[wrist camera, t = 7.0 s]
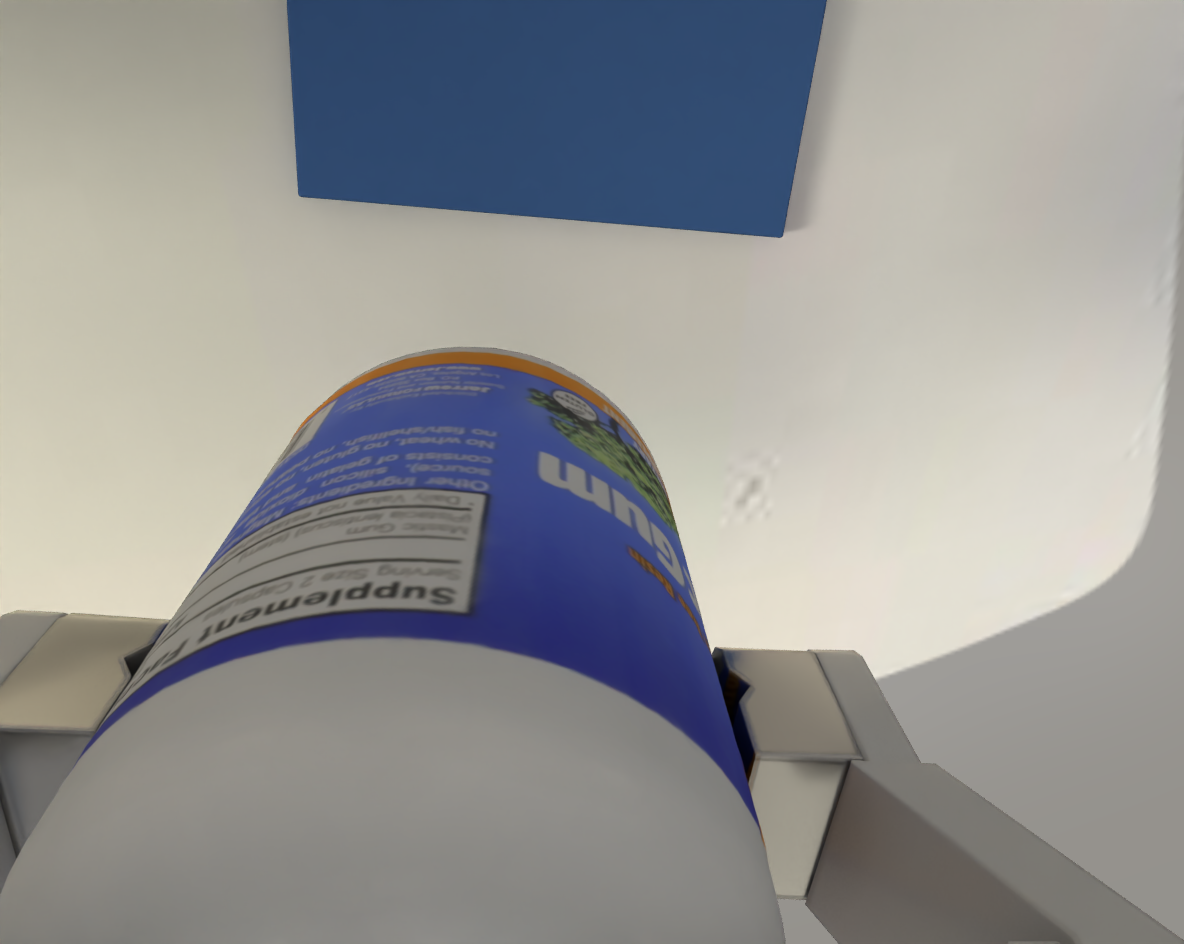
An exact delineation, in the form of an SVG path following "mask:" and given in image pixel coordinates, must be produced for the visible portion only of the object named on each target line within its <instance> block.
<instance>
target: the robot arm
mask: <svg viewBox="0 0 1184 944" xmlns="http://www.w3.org/2000/svg"><path fill="white" fill-rule="evenodd" d="M170 621H171V620H166V619H152V618H137V617H123V616H108V615H94V614H80V613H71V614H66V613H59V612H41V611H24V610H17V611H14V612H11V613H7V614H4V615H2V616H1V617H0V894H1V891H2V889H3V887H4V884H5V882H6V879H7V877H8V874H9V872H10V870H11V868H12V866H13V865H14V863H15V861H16V859H17V857H18V855H19V853H20V851H21V849H22V848H23V846H24V844H25V842H26V841H27V839H28V837H29V836H30V834H31V833H32V831H33V830H34V828H35V827H36V825H37V823H38V822H39V820H40V819H41V817H42V816H43V814H44V813H45V811H46V809H47V808H48V806H49V805H50V803H51V802H52V800H53V799H54V797H55V795H56V794H57V792H58V790H59V788H60V786H61V784H62V783H63V782H64V780H65V779H66V777H67V776H68V774H69V773H70V772H71V770H72V769H73V767H74V765H75V764H76V762H77V760H78V759H79V757H80V755H81V754H82V752H83V750H84V749H85V747H86V746H87V744H88V743H89V742H90V740H91V739H92V737H93V736H94V735H95V733H96V732H97V730H98V729H99V727H100V725H101V724H102V722H103V721H104V719H105V718H106V716H107V715H108V713H109V712H110V710H111V709H112V708H113V706H114V705H115V703H116V702H117V700H118V699H119V697H120V696H121V694H122V693H123V692H124V690H125V689H126V687H127V686H128V684H129V683H130V681H131V680H132V678H133V677H134V675H135V673H136V672H137V670H138V669H139V667H140V666H141V664H142V663H143V661H144V659H145V658H146V656H147V655H148V653H149V652H150V650H151V649H152V647H153V646H154V645H155V643H156V642H157V640H158V639H159V637H160V636H161V634H162V633H163V631H164V630H165V628H166V627H167V625H168V624H169V622H170ZM712 658H713V662H714V665H715V669H716V672H717V676H718V679H719V683H720V686H721V690H722V694H723V698H724V701H725V705H726V708H727V712H728V715H729V718H730V722H731V725H732V729H733V733H734V736H735V740H736V744H737V747H738V749H739V752H740V755H741V758H742V761H743V765H744V770H745V774H746V778H747V781H748V785H749V788H750V792H751V796H752V799H753V803H754V807H755V811H756V814H757V817H758V821H759V824H760V827H761V831H762V835H763V839H764V843H765V847H766V852H767V858H768V864H769V869H770V873H771V877H772V880H773V884H774V888H775V892H776V896H777V899H796V900H806V903H805V905H806V906H807V907H808V908H809V909H810V911H811V912H812V913H813V914H814V915H815V916H816V918H817V919H818V920H819V921H820V922H821V923H822V925H823V926H824V927H825V928H826V929H827V931H828V932H829V933H830V934H831V935H832V936H833V938H834V939H835V940H836V941H837V942H838V943H839V944H1184V940H1183V939H1181V938H1180V937H1178V936H1177V935H1176V934H1174V933H1173V932H1172V931H1170V930H1169V929H1167V928H1166V927H1164V926H1163V925H1162V924H1160V923H1159V922H1158V921H1156V920H1155V919H1153V918H1152V917H1151V916H1149V915H1148V914H1146V913H1145V912H1143V911H1142V910H1141V909H1139V908H1138V907H1136V906H1135V905H1134V904H1132V903H1131V902H1129V901H1128V900H1126V899H1125V898H1123V897H1122V896H1121V895H1119V894H1118V893H1117V892H1115V891H1114V890H1112V889H1111V888H1110V887H1108V886H1107V885H1105V884H1104V883H1103V882H1101V881H1100V880H1098V879H1097V878H1096V877H1094V876H1093V875H1091V874H1090V873H1089V872H1087V871H1085V870H1084V869H1083V868H1081V867H1080V866H1079V865H1077V864H1076V863H1074V862H1073V861H1072V860H1070V859H1069V858H1067V857H1066V856H1064V855H1063V854H1062V853H1060V852H1059V851H1058V850H1056V849H1055V848H1053V847H1052V846H1050V845H1049V844H1048V843H1046V842H1045V841H1043V840H1042V839H1041V838H1039V837H1038V836H1037V835H1035V834H1034V833H1032V832H1031V831H1029V830H1028V829H1026V828H1025V827H1024V826H1023V825H1021V824H1020V823H1018V822H1017V821H1015V820H1014V819H1013V818H1011V817H1010V816H1008V815H1007V814H1005V813H1004V812H1003V811H1001V810H1000V809H999V808H997V807H996V806H994V805H993V804H992V803H990V802H989V801H987V800H986V799H985V798H983V797H982V796H980V795H979V794H978V793H976V792H975V791H973V790H972V789H970V788H969V787H968V786H966V785H965V784H963V783H962V782H961V781H959V780H958V779H956V778H955V777H954V776H952V775H951V774H949V773H948V772H946V771H945V770H944V769H942V768H941V767H940V766H938V765H936V764H930V763H921V762H920V760H919V759H918V756H917V755H916V753H915V751H914V749H913V748H912V746H911V744H910V742H909V740H908V738H907V737H906V735H905V733H904V731H903V729H902V728H901V726H900V724H899V722H898V720H897V719H896V717H895V715H894V713H893V711H892V710H891V708H890V706H889V704H888V702H887V701H886V699H885V697H884V695H883V693H882V691H881V690H880V688H879V686H878V684H877V682H876V680H875V679H874V677H873V675H872V673H871V671H870V670H869V668H868V666H867V664H866V662H865V661H864V659H863V657H862V656H861V655H860V654H858V653H857V652H855V651H854V650H808V651H793V650H770V649H747V648H725V647H715V649H714V651H713V653H712Z"/></svg>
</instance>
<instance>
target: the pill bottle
mask: <svg viewBox="0 0 1184 944" xmlns="http://www.w3.org/2000/svg"><path fill="white" fill-rule="evenodd" d="M0 944H785V936H784V929H783V923H782V918H781V914H780V909H779V905H778V901H777V896H776V892H775V888H774V884H773V880H772V877H771V873H770V869H769V864H768V858H767V852H766V847H765V843H764V839H763V835H762V831H761V827H760V824H759V821H758V817H757V814H756V811H755V807H754V803H753V799H752V796H751V792H750V788H749V785H748V781H747V778H746V774H745V770H744V765H743V761H742V758H741V755H740V752H739V749H738V747H737V744H736V740H735V736H734V733H733V729H732V725H731V722H730V718H729V715H728V712H727V708H726V705H725V701H724V698H723V694H722V690H721V686H720V683H719V679H718V676H717V672H716V669H715V665H714V662H713V658H712V655H711V651H710V647H709V644H708V640H707V636H706V633H705V629H704V625H703V621H702V618H701V614H700V610H699V606H698V602H697V599H696V595H695V592H694V588H693V585H692V581H691V577H690V574H689V570H688V567H687V563H686V559H685V555H684V552H683V548H682V545H681V542H680V538H679V534H678V531H677V527H676V523H675V520H674V516H673V513H672V509H671V505H670V501H669V498H668V494H667V491H666V488H665V485H664V482H663V480H662V478H661V475H660V473H659V470H658V468H657V465H656V463H655V461H654V458H653V456H652V454H651V452H650V451H649V449H648V447H647V445H646V443H645V442H644V440H643V439H642V437H641V435H640V434H639V432H638V431H637V429H636V428H635V427H634V425H633V424H632V422H631V421H630V420H629V419H628V418H627V416H626V415H625V414H624V413H623V412H622V411H621V410H620V409H619V408H618V407H617V406H616V405H615V404H614V403H613V402H612V401H610V400H609V399H608V398H607V397H606V396H605V395H604V394H603V393H601V392H600V391H599V390H597V389H596V388H594V387H593V386H592V385H590V384H589V383H587V382H586V381H584V380H583V379H581V378H580V377H578V376H576V375H574V374H572V373H571V372H569V371H567V370H565V369H563V368H562V367H559V366H557V365H555V364H553V363H551V362H548V361H545V360H542V359H539V358H536V357H534V356H531V355H527V354H523V353H518V352H513V351H507V350H502V349H497V348H479V347H453V348H441V349H433V350H427V351H422V352H418V353H413V354H409V355H405V356H402V357H399V358H395V359H392V360H389V361H387V362H384V363H382V364H380V365H378V366H376V367H374V368H372V369H370V370H368V371H366V372H364V373H363V374H361V375H359V376H357V377H355V378H354V379H352V380H351V381H350V382H348V383H347V384H345V385H344V386H342V387H341V388H340V389H338V390H337V391H336V392H335V393H334V394H333V395H332V396H331V397H329V398H328V399H327V400H326V401H325V402H324V403H323V404H322V405H321V406H319V407H318V408H317V409H316V410H315V411H314V412H313V413H312V414H311V415H309V416H308V417H307V418H306V419H305V421H304V422H303V423H302V424H301V425H300V427H299V428H298V430H297V431H296V433H295V434H294V436H293V437H292V439H291V441H290V443H289V444H288V446H287V447H286V449H285V450H284V452H283V453H282V454H281V456H280V457H279V459H278V461H277V462H276V463H275V465H274V466H273V467H272V469H271V471H270V472H269V474H268V475H267V477H266V478H265V480H264V482H263V483H262V485H261V486H260V488H259V489H258V491H257V492H256V494H255V495H254V497H253V498H252V500H251V501H250V503H249V504H248V506H247V507H246V509H245V510H244V512H243V513H242V515H241V516H240V518H239V519H238V521H237V522H236V524H235V525H234V527H233V528H232V530H231V532H230V533H229V535H228V536H227V538H226V539H225V541H224V542H223V544H222V545H221V547H220V548H219V550H218V551H217V552H216V554H215V556H214V557H213V559H212V560H211V562H210V563H209V565H208V566H207V568H206V569H205V571H204V572H203V574H202V575H201V577H200V578H199V579H198V581H197V582H196V584H195V585H194V587H193V588H192V590H191V591H190V593H189V594H188V596H187V597H186V599H185V600H184V602H183V603H182V605H181V606H180V608H179V609H178V610H177V612H176V613H175V615H174V616H173V618H172V619H171V621H170V622H169V624H168V625H167V627H166V628H165V630H164V631H163V633H162V634H161V636H160V637H159V639H158V640H157V642H156V643H155V645H154V646H153V647H152V649H151V650H150V652H149V653H148V655H147V656H146V658H145V659H144V661H143V663H142V664H141V666H140V667H139V669H138V670H137V672H136V673H135V675H134V677H133V678H132V680H131V681H130V683H129V684H128V686H127V687H126V689H125V690H124V692H123V693H122V694H121V696H120V697H119V699H118V700H117V702H116V703H115V705H114V706H113V708H112V709H111V710H110V712H109V713H108V715H107V716H106V718H105V719H104V721H103V722H102V724H101V725H100V727H99V729H98V730H97V732H96V733H95V735H94V736H93V737H92V739H91V740H90V742H89V743H88V744H87V746H86V747H85V749H84V750H83V752H82V754H81V755H80V757H79V759H78V760H77V762H76V764H75V765H74V767H73V769H72V770H71V772H70V773H69V774H68V776H67V777H66V779H65V780H64V782H63V783H62V784H61V786H60V788H59V790H58V792H57V794H56V795H55V797H54V799H53V800H52V802H51V803H50V805H49V806H48V808H47V809H46V811H45V813H44V814H43V816H42V817H41V819H40V820H39V822H38V823H37V825H36V827H35V828H34V830H33V831H32V833H31V834H30V836H29V837H28V839H27V841H26V842H25V844H24V846H23V848H22V849H21V851H20V853H19V855H18V857H17V859H16V861H15V863H14V865H13V866H12V868H11V870H10V872H9V874H8V877H7V879H6V882H5V884H4V887H3V889H2V891H1V894H0Z"/></svg>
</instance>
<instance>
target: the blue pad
mask: <svg viewBox="0 0 1184 944" xmlns="http://www.w3.org/2000/svg"><path fill="white" fill-rule="evenodd" d="M826 2H827V0H287V13H288V30H289V47H290V63H291V80H292V97H293V114H294V130H295V147H296V164H297V181H298V194H299V196H301V197H308V198H320V199H332V200H344V201H355V202H367V203H379V204H390V205H402V206H414V207H426V208H437V209H449V210H461V211H473V212H484V213H496V214H508V215H519V216H531V217H543V218H555V219H566V220H578V221H590V222H601V223H613V224H625V225H637V226H648V227H660V228H672V229H683V230H695V231H707V232H719V233H730V234H742V235H754V236H766V237H777V238H780V237H782V236H783V232H784V227H785V221H786V216H787V211H788V205H789V200H790V195H791V189H792V184H793V179H794V173H795V168H796V163H797V157H798V152H799V146H800V141H801V136H802V130H803V125H804V120H805V114H806V109H807V104H808V98H809V93H810V88H811V82H812V77H813V72H814V66H815V61H816V55H817V50H818V45H819V39H820V34H821V29H822V23H823V18H824V13H825V7H826Z"/></svg>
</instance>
